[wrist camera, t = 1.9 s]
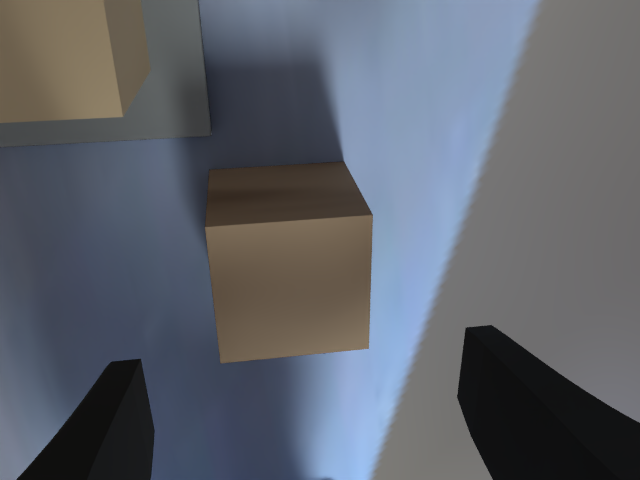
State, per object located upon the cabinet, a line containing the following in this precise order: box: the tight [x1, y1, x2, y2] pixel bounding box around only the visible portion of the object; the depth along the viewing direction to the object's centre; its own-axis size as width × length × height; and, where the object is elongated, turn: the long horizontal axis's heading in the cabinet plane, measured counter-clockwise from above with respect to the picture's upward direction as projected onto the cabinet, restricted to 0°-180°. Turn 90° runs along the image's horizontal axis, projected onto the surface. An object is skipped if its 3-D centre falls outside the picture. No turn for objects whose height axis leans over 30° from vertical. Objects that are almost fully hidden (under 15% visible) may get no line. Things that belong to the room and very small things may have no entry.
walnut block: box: [205, 162, 373, 363], centre depth 18 cm, size 4×4×4 cm
